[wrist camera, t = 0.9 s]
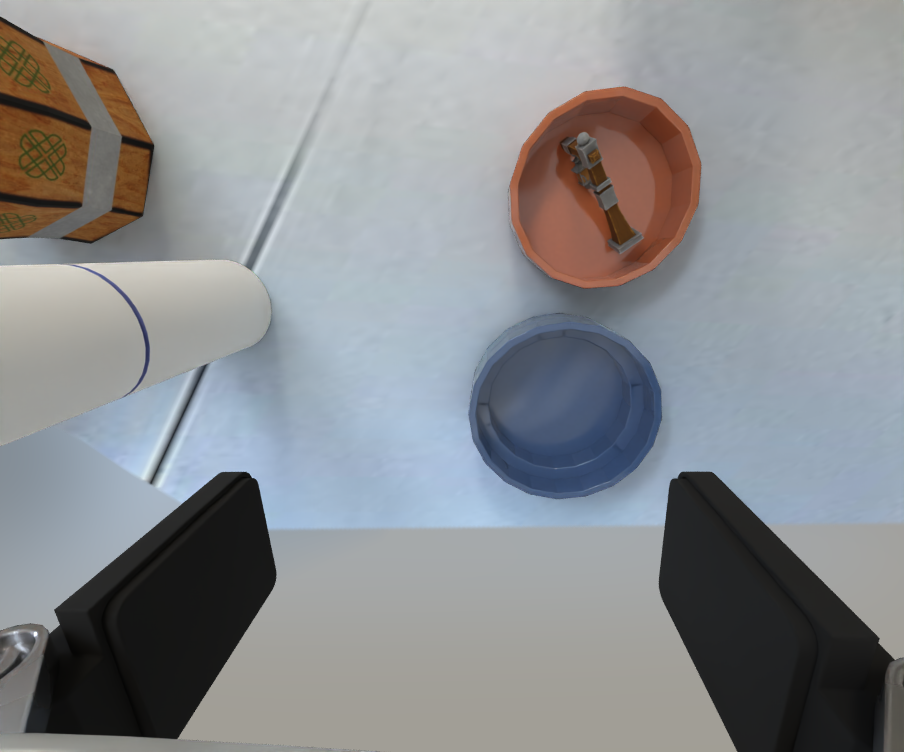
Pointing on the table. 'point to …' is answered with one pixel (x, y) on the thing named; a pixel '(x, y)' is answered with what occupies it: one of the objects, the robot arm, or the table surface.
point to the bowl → (563, 406)
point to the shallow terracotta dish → (632, 174)
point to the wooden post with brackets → (600, 188)
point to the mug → (66, 144)
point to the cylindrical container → (115, 331)
